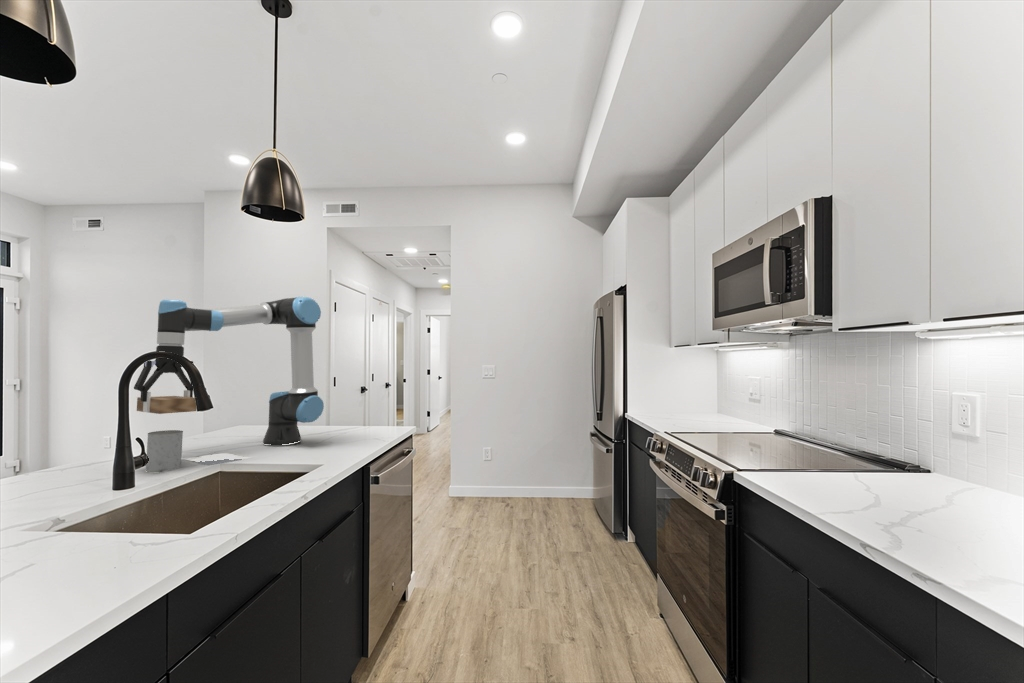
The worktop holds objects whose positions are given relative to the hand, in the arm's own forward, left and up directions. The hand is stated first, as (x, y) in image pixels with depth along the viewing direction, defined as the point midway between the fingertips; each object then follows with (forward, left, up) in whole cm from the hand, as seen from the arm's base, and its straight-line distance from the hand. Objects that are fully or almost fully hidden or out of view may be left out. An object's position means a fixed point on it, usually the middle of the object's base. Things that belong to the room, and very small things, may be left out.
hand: (166, 410), depth 154 cm
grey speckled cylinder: (0, 0, -20) cm, 20 cm away
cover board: (0, 0, 0) cm, 0 cm away
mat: (-18, -2, -20) cm, 27 cm away
